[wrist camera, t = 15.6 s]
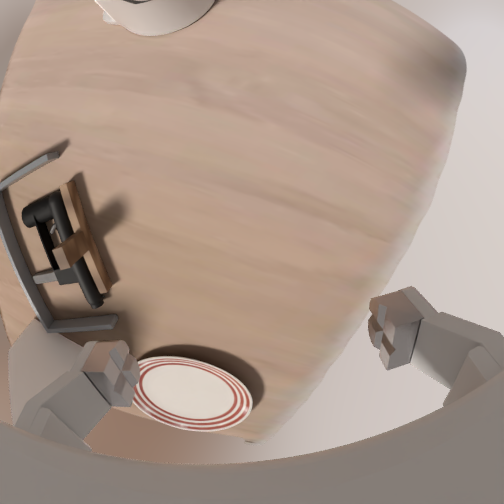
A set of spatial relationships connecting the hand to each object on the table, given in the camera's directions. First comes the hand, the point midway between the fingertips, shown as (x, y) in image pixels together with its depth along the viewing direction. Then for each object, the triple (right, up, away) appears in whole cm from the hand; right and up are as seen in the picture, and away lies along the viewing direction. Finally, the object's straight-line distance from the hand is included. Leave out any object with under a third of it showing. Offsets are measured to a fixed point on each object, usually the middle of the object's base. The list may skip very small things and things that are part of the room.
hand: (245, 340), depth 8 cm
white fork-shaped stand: (-42, -22, +40) cm, 62 cm away
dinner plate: (-13, -27, +44) cm, 53 cm away
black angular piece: (-33, +3, +30) cm, 45 cm away
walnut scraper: (-25, +5, +29) cm, 39 cm away
